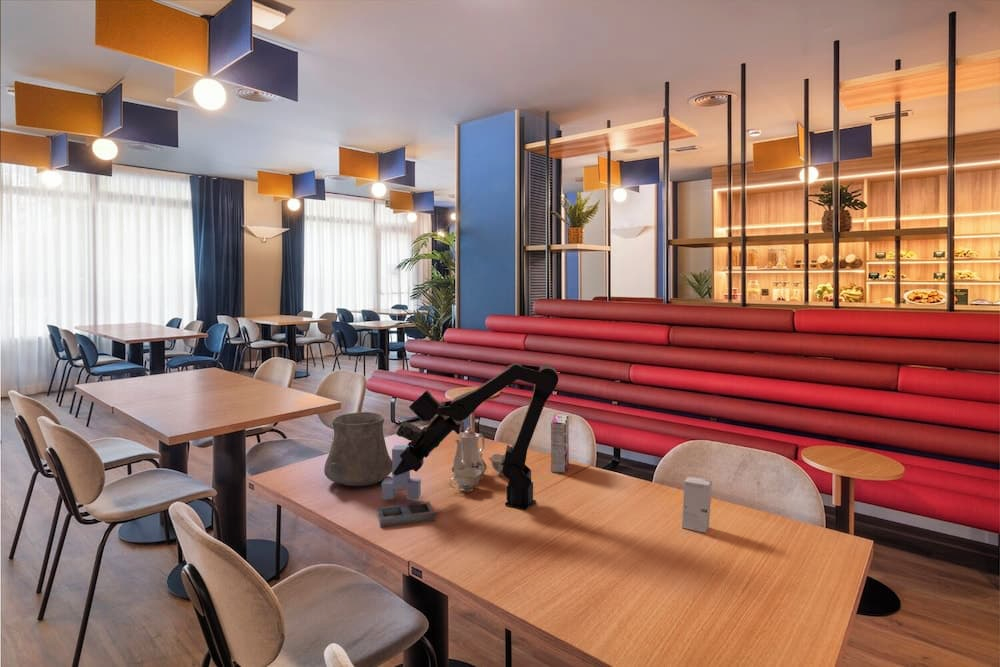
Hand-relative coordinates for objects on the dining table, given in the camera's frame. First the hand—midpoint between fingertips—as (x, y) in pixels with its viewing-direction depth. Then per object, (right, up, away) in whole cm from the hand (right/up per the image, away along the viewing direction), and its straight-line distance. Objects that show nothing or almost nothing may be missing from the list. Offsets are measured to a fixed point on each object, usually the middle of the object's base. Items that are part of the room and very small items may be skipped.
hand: (396, 471), depth 164 cm
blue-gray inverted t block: (+1, -7, +1) cm, 7 cm away
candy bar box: (+48, -6, +30) cm, 57 cm away
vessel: (-13, -7, +17) cm, 23 cm away
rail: (+4, -10, -10) cm, 15 cm away
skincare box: (+78, -10, -16) cm, 80 cm away
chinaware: (+22, -7, +19) cm, 30 cm away
